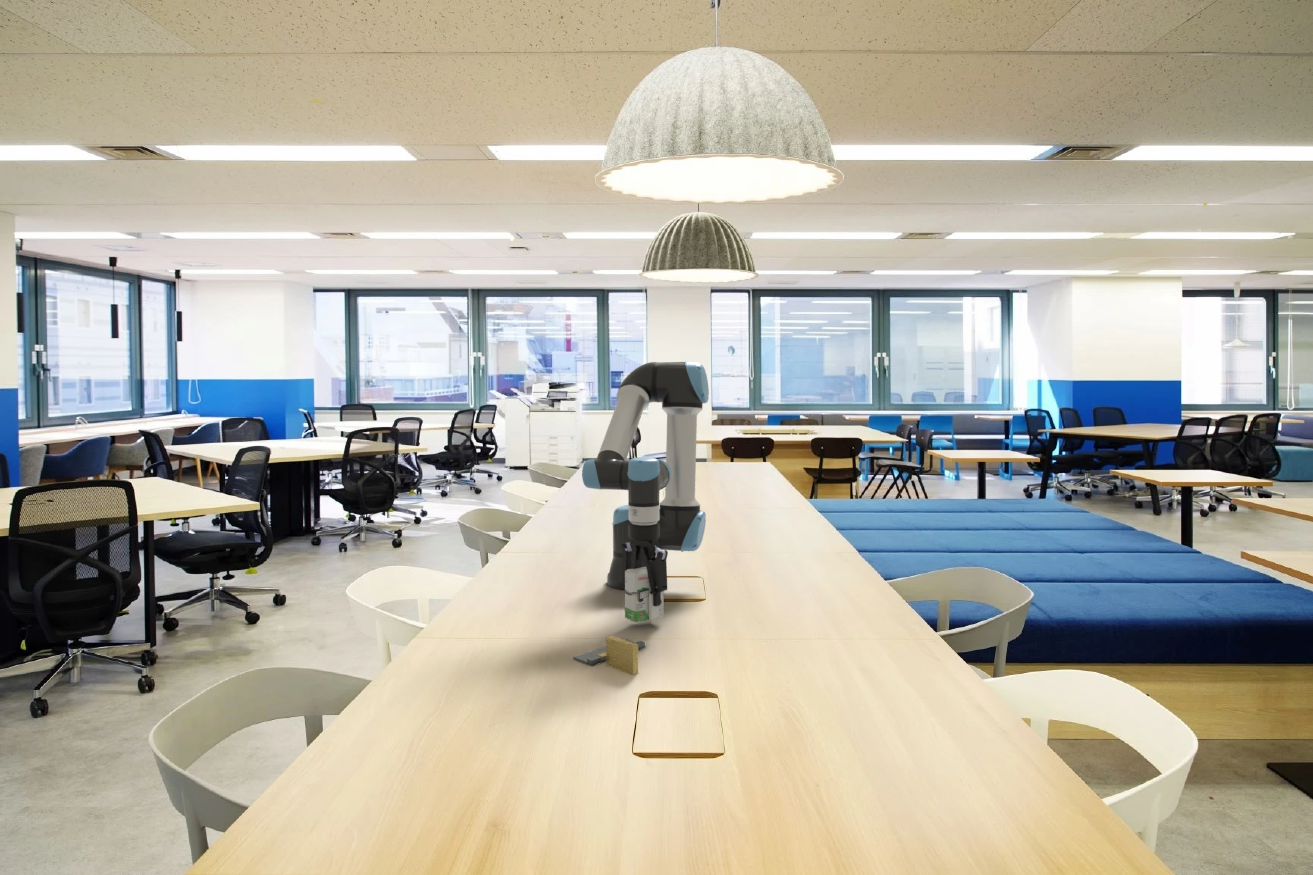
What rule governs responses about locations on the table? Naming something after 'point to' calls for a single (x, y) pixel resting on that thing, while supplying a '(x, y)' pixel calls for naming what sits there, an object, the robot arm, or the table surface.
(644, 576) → the ink box
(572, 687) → the table surface
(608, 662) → the rail
